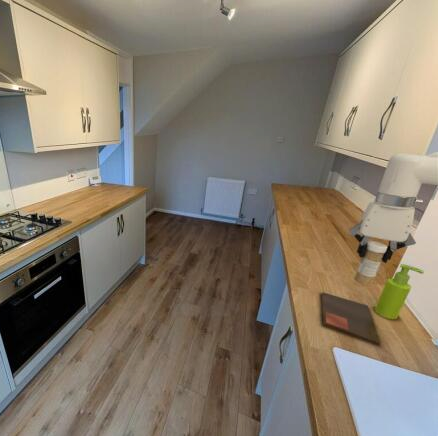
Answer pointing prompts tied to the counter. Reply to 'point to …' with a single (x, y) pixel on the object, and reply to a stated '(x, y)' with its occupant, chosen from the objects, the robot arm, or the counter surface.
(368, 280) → the sprinkles bottle
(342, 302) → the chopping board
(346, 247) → the counter surface
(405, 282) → the soap dispenser
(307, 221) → the counter surface
